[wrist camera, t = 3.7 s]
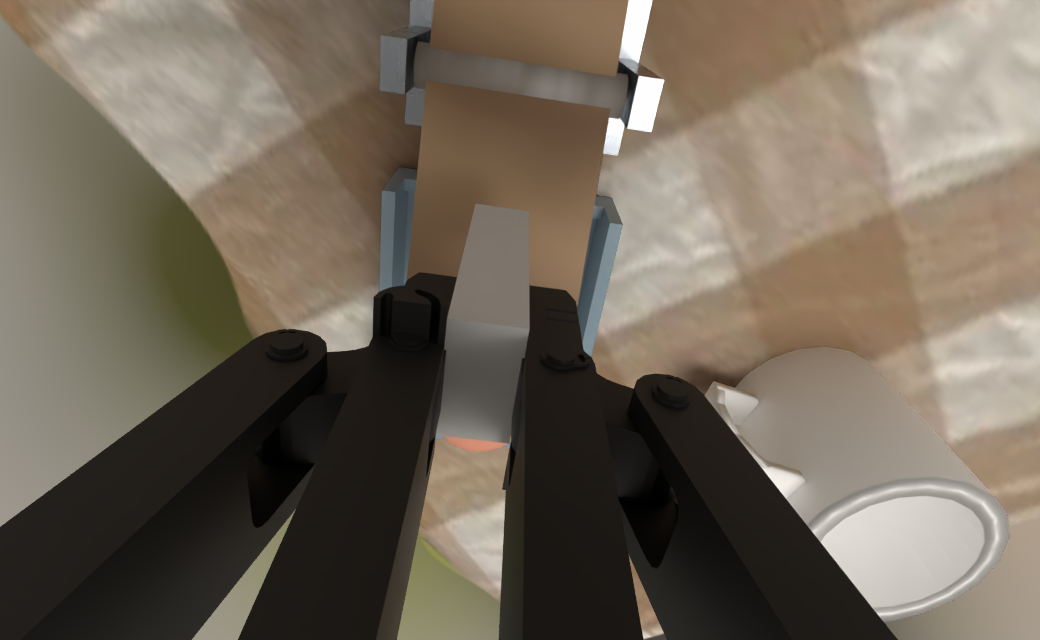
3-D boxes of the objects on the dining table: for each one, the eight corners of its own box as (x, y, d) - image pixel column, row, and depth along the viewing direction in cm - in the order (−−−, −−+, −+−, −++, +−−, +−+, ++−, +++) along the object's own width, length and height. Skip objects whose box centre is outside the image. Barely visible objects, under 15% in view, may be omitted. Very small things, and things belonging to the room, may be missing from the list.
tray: (399, 167, 30) (381, 190, 26) (612, 197, 30) (622, 224, 27) (389, 389, 37) (375, 431, 33) (563, 410, 37) (567, 454, 34)
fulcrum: (428, -37, 25) (375, -51, 17) (636, -3, 26) (690, 1, 17) (420, 107, 28) (371, 159, 20) (607, 135, 29) (640, 198, 20)
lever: (472, -243, 22) (449, -543, 13) (648, -210, 23) (747, -479, 13) (410, 359, 28) (362, 450, 18) (552, 378, 28) (576, 475, 19)
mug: (645, 436, 38) (683, 579, 29) (725, 306, 33) (800, 428, 24) (824, 491, 40) (912, 640, 31) (922, 376, 36) (1061, 512, 26)
